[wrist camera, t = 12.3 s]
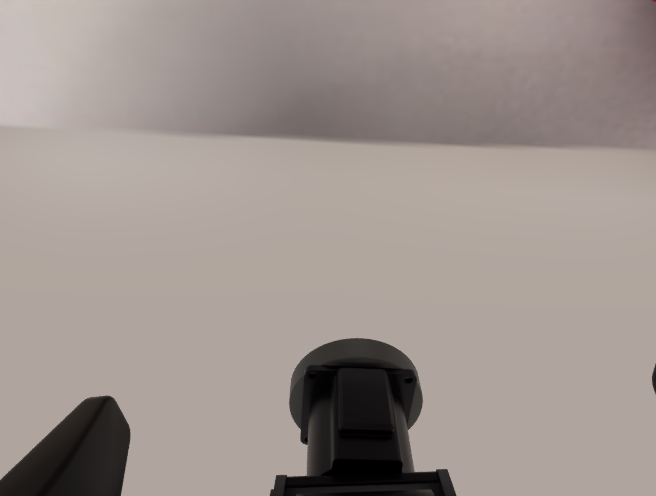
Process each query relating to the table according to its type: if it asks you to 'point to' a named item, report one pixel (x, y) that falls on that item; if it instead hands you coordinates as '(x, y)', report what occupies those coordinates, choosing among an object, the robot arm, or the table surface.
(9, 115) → the table surface
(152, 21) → the table surface
